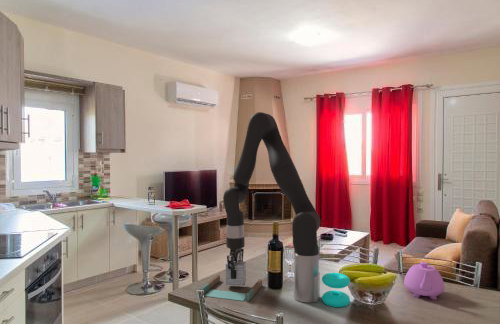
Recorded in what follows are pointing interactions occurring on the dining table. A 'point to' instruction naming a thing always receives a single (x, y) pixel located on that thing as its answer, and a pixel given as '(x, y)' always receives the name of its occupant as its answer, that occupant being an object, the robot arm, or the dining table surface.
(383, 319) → the dining table surface
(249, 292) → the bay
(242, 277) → the medicine box
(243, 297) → the front pad
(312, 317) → the dining table surface
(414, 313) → the dining table surface
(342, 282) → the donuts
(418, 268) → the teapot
